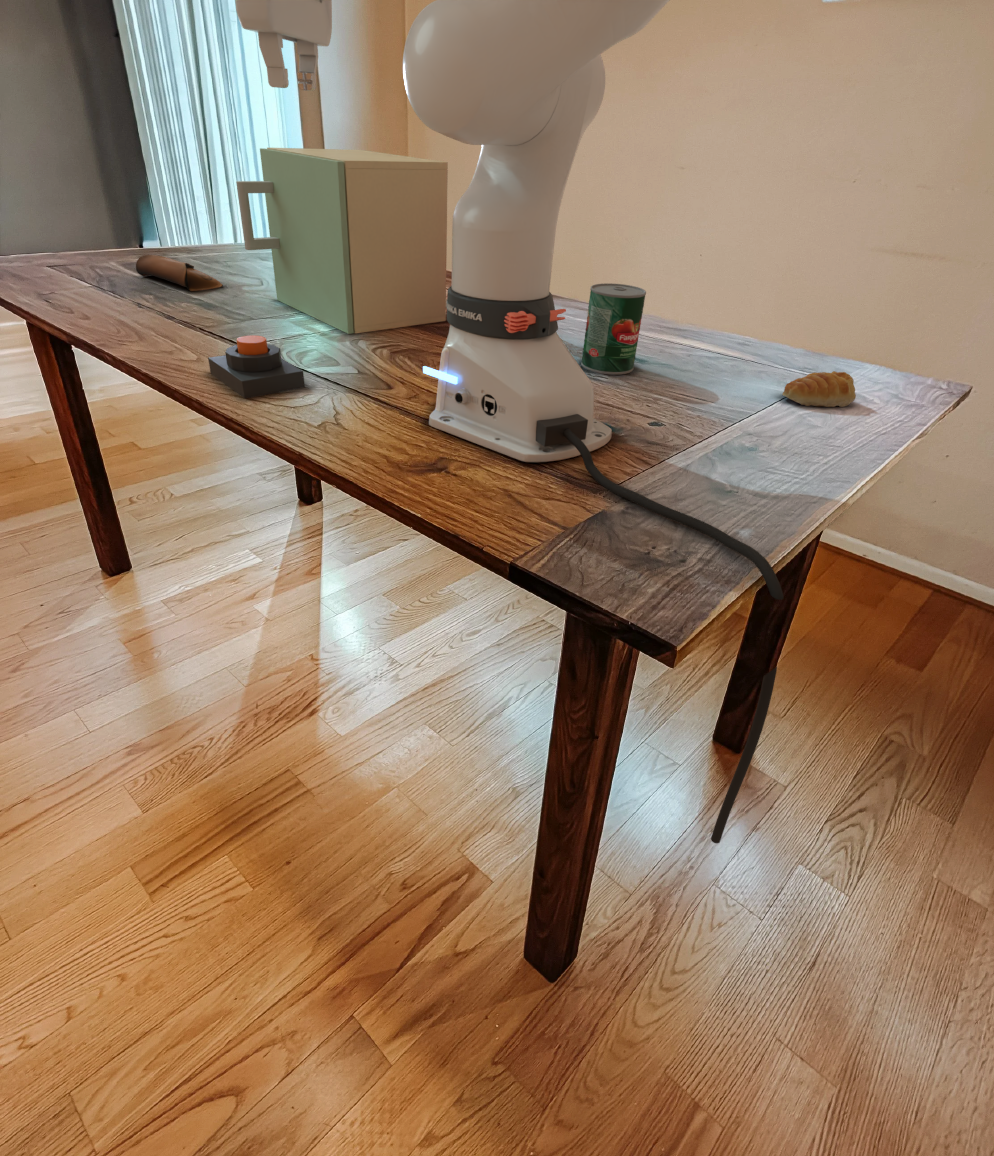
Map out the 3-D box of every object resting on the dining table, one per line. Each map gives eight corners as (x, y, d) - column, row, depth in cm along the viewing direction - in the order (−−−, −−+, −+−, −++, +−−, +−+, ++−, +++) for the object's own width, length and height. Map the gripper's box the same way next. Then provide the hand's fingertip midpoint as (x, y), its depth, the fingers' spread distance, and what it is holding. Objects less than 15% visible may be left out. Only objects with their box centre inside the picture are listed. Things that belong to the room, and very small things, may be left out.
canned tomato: (629, 377, 100) (642, 297, 94) (576, 370, 102) (585, 291, 96) (636, 363, 106) (649, 287, 100) (586, 356, 108) (595, 281, 102)
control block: (305, 388, 89) (301, 356, 87) (244, 399, 85) (239, 366, 82) (268, 365, 96) (264, 335, 94) (210, 374, 91) (205, 343, 89)
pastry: (800, 410, 92) (809, 382, 90) (769, 394, 97) (776, 367, 95) (856, 406, 95) (866, 379, 93) (823, 390, 100) (831, 364, 98)
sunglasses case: (227, 284, 133) (205, 253, 128) (202, 308, 131) (179, 278, 126) (175, 269, 142) (153, 240, 137) (151, 292, 140) (128, 263, 135)
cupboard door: (315, 338, 107) (299, 161, 94) (246, 303, 124) (224, 147, 110) (353, 333, 111) (343, 161, 98) (282, 299, 127) (265, 148, 114)
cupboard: (355, 334, 111) (345, 160, 98) (283, 300, 127) (266, 147, 114) (445, 321, 121) (447, 162, 108) (368, 291, 137) (362, 150, 124)
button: (272, 354, 88) (271, 340, 87) (245, 358, 86) (243, 344, 85) (261, 347, 90) (259, 334, 89) (233, 351, 88) (231, 337, 87)
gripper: (272, -96, 64) (288, 88, 71) (338, -51, 81) (345, 93, 88) (205, -100, 64) (229, 83, 72) (285, -54, 81) (297, 90, 89)
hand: (294, 89), depth 80 cm, fingers open, 8 cm apart
